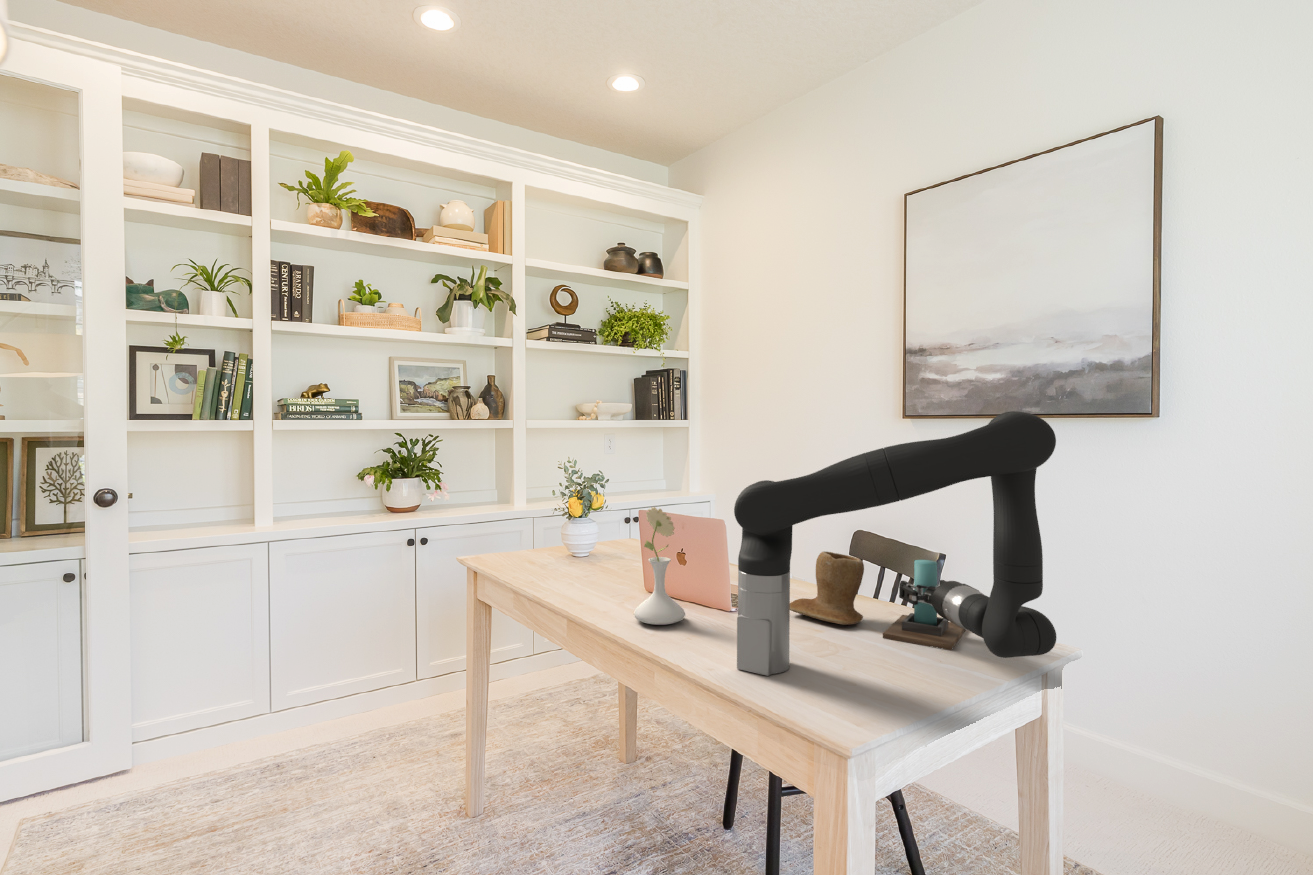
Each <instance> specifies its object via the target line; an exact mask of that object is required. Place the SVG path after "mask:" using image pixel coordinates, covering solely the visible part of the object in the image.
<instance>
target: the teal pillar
mask: <svg viewBox="0 0 1313 875" xmlns="http://www.w3.org/2000/svg"><path fill="white" fill-rule="evenodd" d="M913 566H914V567H913V569H914V570H913V571H914V572H913V573H914V574H913V575H914V576H913V585H919V584H925V585H930V586H933V585H937V586H938V562H937V561H935V560H931V559H916V560H914V564H913ZM913 590H916V589H913ZM925 590H926V589H925V588H923V593H924V592H925ZM913 613H914V623H921V624H927V625H933V626H937V617H938V613H937V612H936V611H935V609H934V607H933V606H931V605H930V604H927V603H922V602H918V604H917V605H913Z"/></svg>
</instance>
